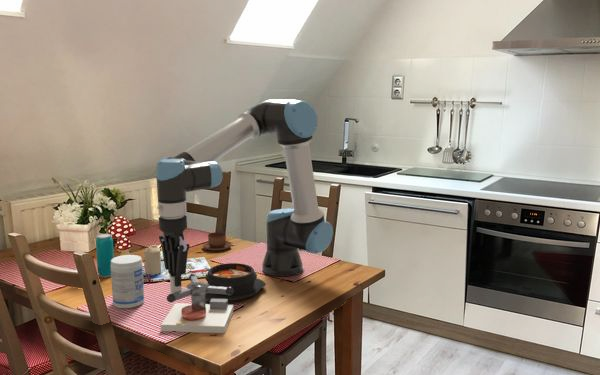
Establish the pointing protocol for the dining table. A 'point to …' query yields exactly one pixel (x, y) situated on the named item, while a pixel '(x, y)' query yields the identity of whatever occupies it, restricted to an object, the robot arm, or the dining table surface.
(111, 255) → the beverage can
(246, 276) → the casserole
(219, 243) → the cup and saucer
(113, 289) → the supplement tub
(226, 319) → the stand
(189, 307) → the capstan
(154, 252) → the candle
